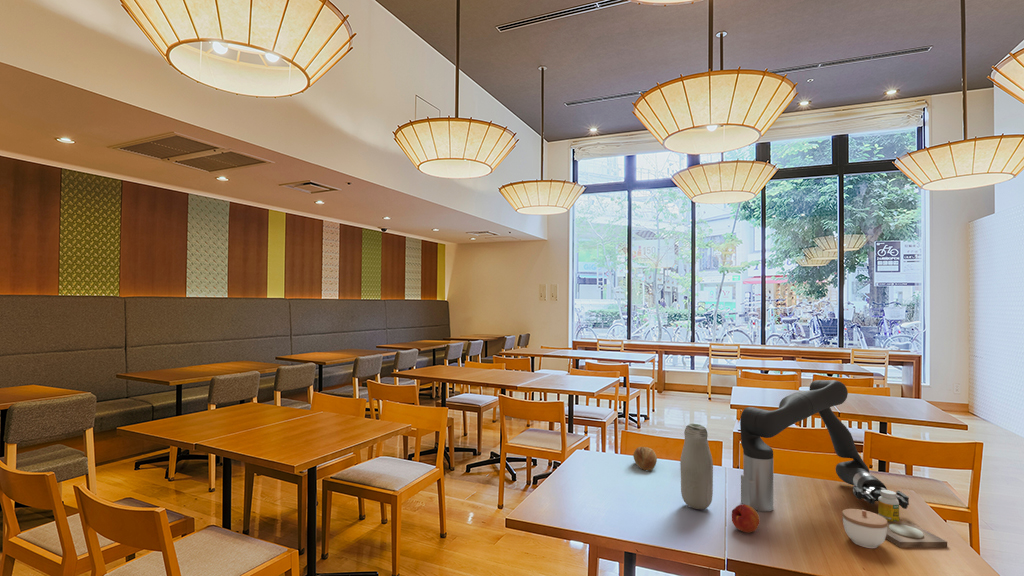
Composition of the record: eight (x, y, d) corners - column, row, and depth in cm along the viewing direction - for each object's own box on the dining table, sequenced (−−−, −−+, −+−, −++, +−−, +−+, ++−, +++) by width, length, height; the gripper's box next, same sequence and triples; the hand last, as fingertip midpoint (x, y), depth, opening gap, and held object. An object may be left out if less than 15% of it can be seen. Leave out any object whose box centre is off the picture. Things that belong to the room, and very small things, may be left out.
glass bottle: (716, 507, 164) (716, 424, 165) (705, 516, 156) (705, 429, 157) (688, 498, 171) (688, 419, 172) (675, 507, 163) (676, 424, 164)
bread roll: (634, 472, 198) (634, 452, 198) (632, 460, 213) (632, 442, 213) (658, 473, 196) (659, 454, 196) (654, 462, 211) (654, 443, 211)
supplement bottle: (882, 516, 158) (881, 487, 158) (902, 523, 154) (901, 492, 154) (875, 520, 155) (875, 490, 155) (895, 527, 151) (895, 496, 151)
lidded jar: (833, 534, 145) (833, 503, 146) (866, 533, 146) (866, 502, 146) (862, 553, 135) (861, 519, 135) (897, 552, 135) (897, 518, 136)
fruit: (726, 524, 151) (726, 499, 151) (752, 525, 151) (752, 499, 151) (737, 537, 143) (737, 509, 143) (765, 537, 143) (764, 510, 143)
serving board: (900, 547, 138) (900, 539, 138) (865, 526, 151) (865, 519, 151) (947, 547, 139) (947, 539, 139) (908, 526, 152) (908, 519, 152)
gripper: (845, 472, 172) (863, 489, 156) (893, 477, 167) (916, 495, 152) (845, 493, 171) (863, 512, 156) (893, 499, 167) (916, 519, 152)
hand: (889, 503), depth 154 cm, fingers open, 8 cm apart
